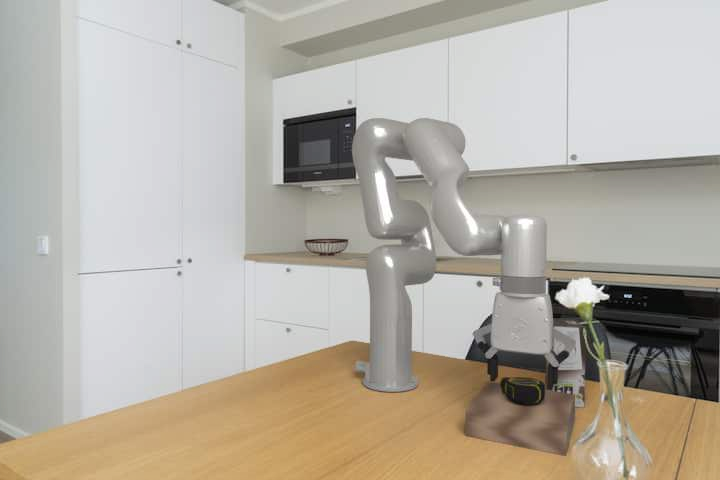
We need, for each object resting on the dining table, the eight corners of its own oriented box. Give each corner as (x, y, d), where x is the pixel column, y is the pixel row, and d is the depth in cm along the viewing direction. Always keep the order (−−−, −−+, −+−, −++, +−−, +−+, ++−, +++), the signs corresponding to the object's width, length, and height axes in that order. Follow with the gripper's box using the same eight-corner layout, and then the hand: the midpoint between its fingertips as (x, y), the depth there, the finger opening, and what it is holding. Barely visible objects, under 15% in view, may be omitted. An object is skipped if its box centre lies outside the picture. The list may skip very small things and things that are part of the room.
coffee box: (585, 408, 100) (587, 327, 99) (551, 405, 101) (552, 325, 101) (575, 393, 109) (577, 319, 108) (544, 391, 110) (545, 317, 110)
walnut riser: (465, 435, 86) (465, 406, 86) (487, 406, 100) (488, 381, 100) (565, 455, 79) (566, 424, 78) (574, 421, 93) (575, 394, 93)
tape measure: (537, 395, 92) (537, 375, 92) (550, 408, 85) (550, 386, 85) (499, 394, 92) (500, 374, 92) (509, 407, 85) (509, 385, 85)
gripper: (468, 285, 89) (467, 381, 89) (574, 291, 81) (573, 397, 81) (479, 281, 95) (478, 371, 96) (578, 287, 87) (576, 385, 88)
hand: (521, 383), depth 88 cm, fingers open, 9 cm apart
